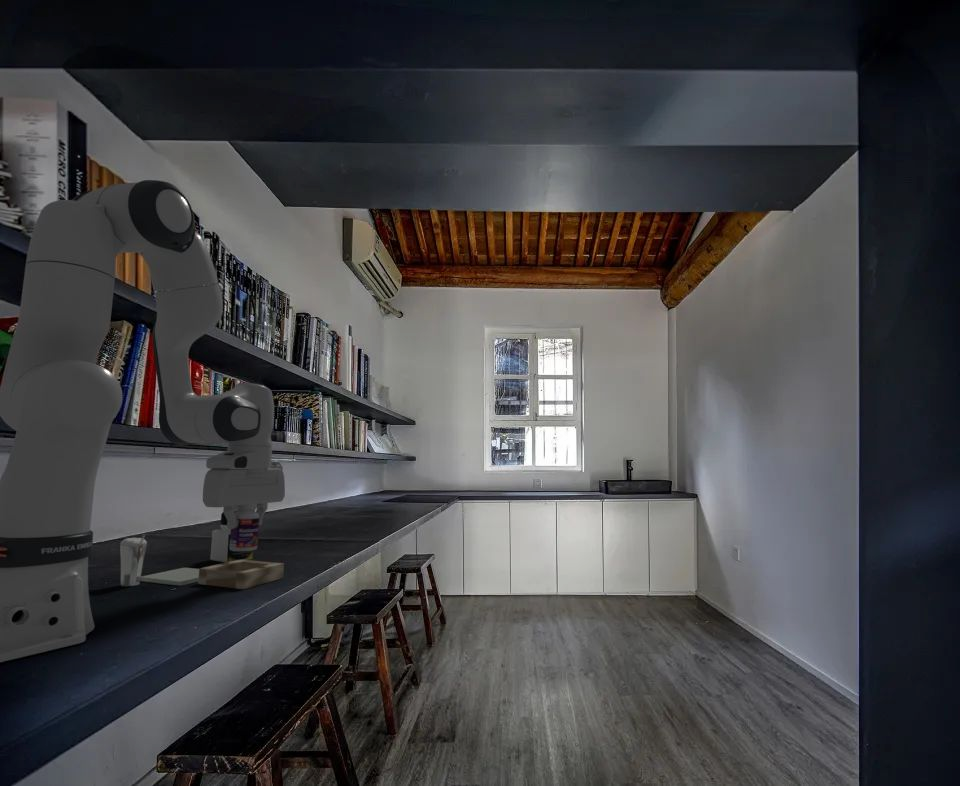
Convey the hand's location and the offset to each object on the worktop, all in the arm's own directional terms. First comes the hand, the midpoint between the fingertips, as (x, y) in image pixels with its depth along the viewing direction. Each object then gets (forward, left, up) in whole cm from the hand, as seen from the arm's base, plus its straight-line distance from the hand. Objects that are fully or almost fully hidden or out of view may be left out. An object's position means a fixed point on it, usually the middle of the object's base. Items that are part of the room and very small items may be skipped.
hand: (245, 526), depth 118 cm
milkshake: (-12, +17, -11) cm, 23 cm away
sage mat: (-3, +13, -11) cm, 17 cm away
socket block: (0, 0, -11) cm, 11 cm away
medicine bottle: (+18, +20, -11) cm, 29 cm away
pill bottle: (0, 0, -5) cm, 5 cm away
